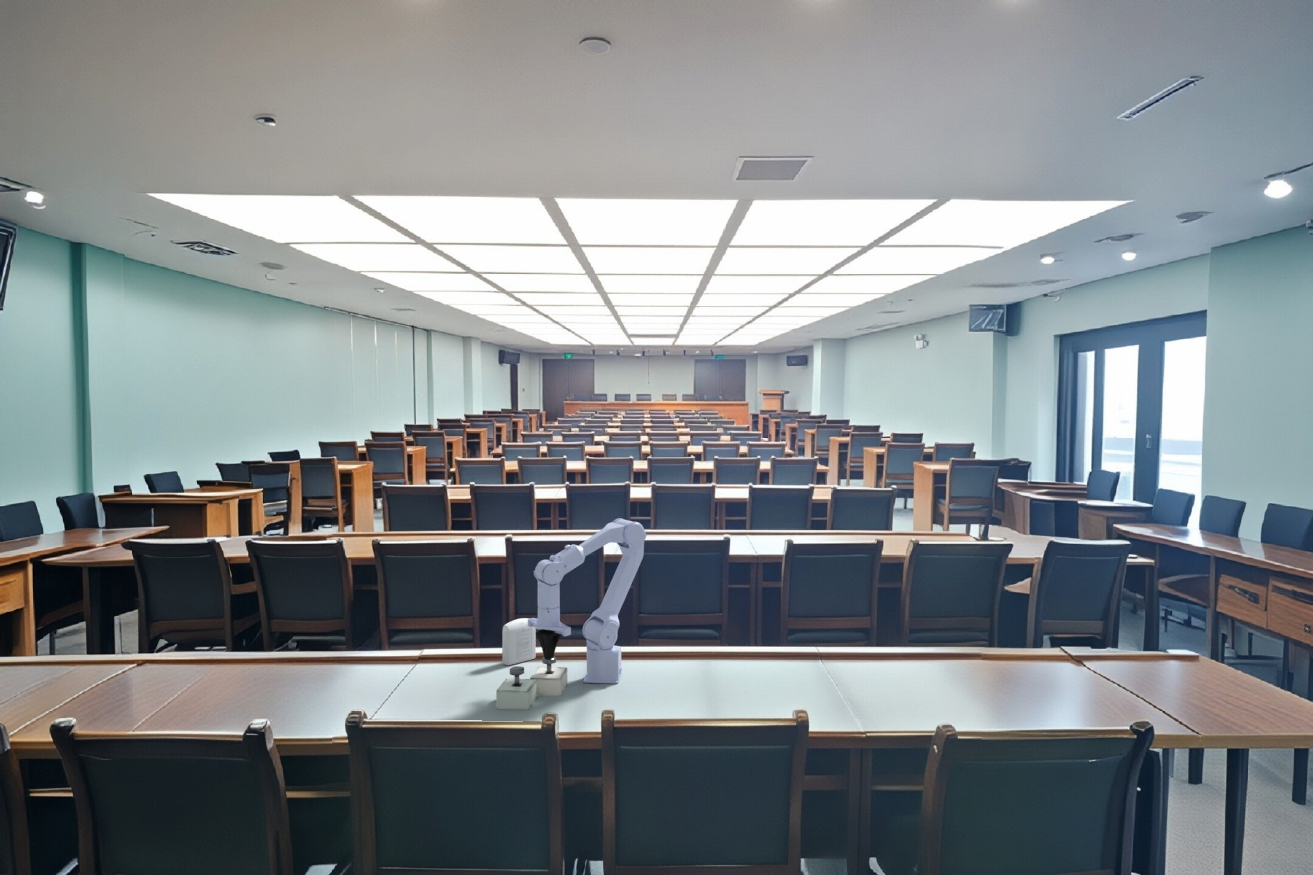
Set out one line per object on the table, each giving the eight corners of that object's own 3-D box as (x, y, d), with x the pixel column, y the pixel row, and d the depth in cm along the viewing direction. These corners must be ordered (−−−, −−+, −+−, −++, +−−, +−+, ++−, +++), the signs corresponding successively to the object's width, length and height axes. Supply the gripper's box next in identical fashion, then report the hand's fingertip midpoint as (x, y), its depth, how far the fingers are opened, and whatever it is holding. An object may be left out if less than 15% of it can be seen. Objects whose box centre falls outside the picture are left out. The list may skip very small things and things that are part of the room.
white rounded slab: (530, 655, 207) (529, 614, 207) (538, 658, 204) (537, 617, 204) (500, 663, 200) (499, 621, 200) (507, 667, 197) (507, 624, 197)
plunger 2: (561, 674, 183) (560, 654, 183) (556, 681, 177) (556, 661, 177) (541, 673, 183) (541, 654, 183) (536, 680, 178) (536, 661, 178)
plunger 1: (530, 685, 174) (529, 665, 174) (524, 693, 169) (524, 672, 169) (509, 685, 175) (509, 664, 174) (503, 693, 169) (503, 672, 169)
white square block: (567, 684, 184) (567, 667, 184) (560, 695, 176) (560, 678, 176) (538, 683, 185) (537, 666, 184) (530, 694, 177) (530, 677, 177)
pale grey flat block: (536, 696, 175) (536, 679, 175) (528, 709, 167) (528, 691, 167) (506, 695, 176) (506, 678, 176) (496, 708, 168) (496, 690, 168)
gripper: (518, 605, 181) (518, 656, 182) (556, 614, 172) (556, 668, 172) (538, 599, 187) (539, 649, 187) (576, 608, 178) (576, 660, 178)
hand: (548, 658), depth 180 cm, fingers closed
